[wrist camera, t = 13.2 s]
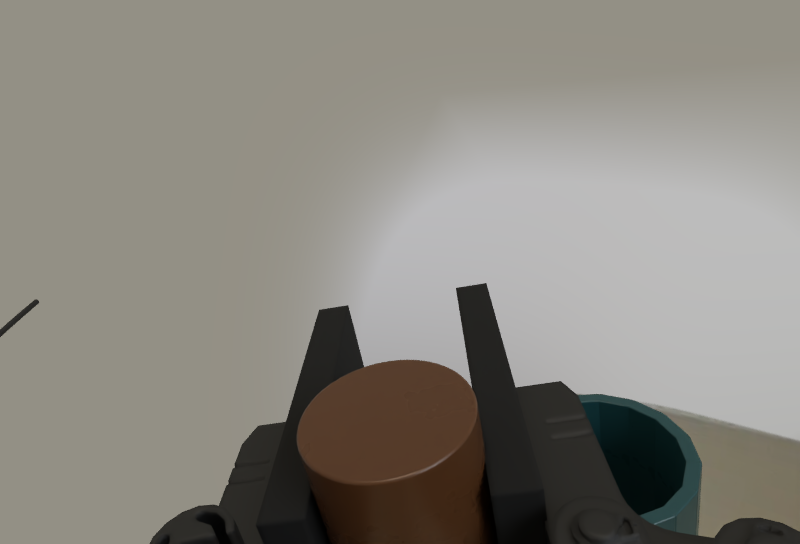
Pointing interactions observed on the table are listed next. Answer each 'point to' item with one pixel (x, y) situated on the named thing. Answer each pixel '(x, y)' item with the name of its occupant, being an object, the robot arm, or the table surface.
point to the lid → (398, 457)
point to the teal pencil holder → (648, 461)
